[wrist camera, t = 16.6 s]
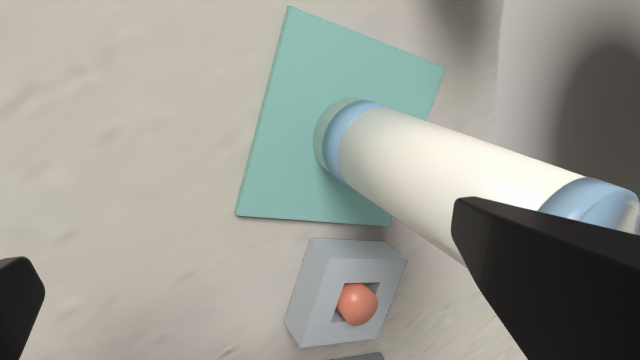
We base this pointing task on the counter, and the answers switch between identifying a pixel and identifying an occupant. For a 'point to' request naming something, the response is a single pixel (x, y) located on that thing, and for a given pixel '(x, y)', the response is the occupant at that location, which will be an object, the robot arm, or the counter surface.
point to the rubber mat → (308, 105)
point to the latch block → (327, 283)
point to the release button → (357, 303)
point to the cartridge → (452, 173)
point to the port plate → (365, 357)
